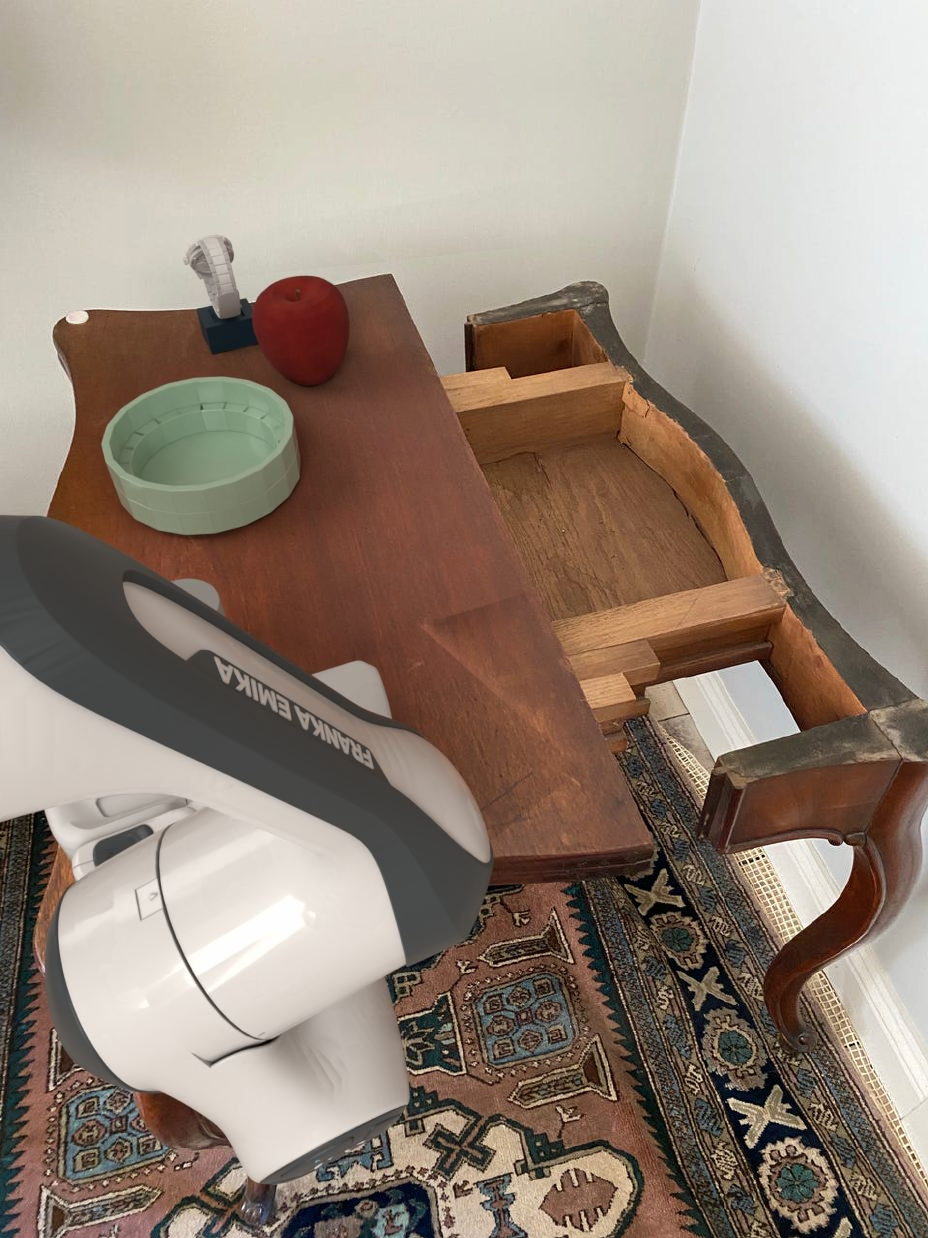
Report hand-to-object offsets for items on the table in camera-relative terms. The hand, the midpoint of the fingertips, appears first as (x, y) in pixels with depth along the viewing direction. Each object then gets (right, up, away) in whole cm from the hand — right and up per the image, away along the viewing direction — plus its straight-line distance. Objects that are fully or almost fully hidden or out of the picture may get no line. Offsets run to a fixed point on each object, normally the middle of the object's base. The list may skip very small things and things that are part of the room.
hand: (201, 664), depth 58 cm
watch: (-9, +34, +42) cm, 54 cm away
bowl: (-6, +16, +26) cm, 31 cm away
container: (0, -6, +6) cm, 9 cm away
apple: (+1, +28, +37) cm, 47 cm away
